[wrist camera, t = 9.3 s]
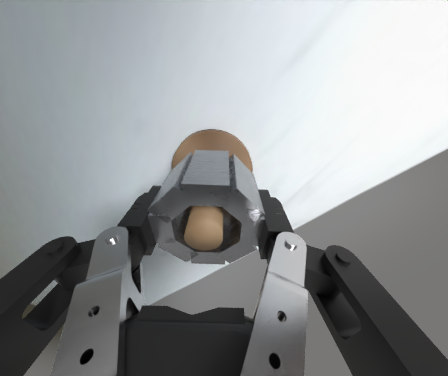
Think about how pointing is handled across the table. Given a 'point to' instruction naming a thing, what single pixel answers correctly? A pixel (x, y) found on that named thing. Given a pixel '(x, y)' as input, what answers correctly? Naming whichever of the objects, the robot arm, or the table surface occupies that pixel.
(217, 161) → the ring
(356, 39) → the table surface
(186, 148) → the wooden peg stand
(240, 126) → the table surface
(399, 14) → the table surface
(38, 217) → the table surface
